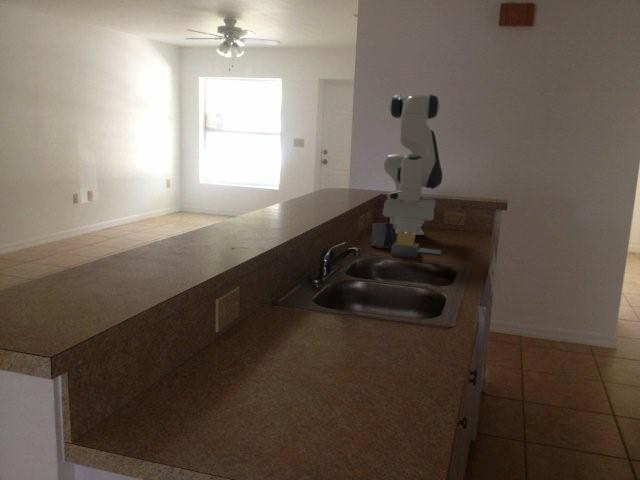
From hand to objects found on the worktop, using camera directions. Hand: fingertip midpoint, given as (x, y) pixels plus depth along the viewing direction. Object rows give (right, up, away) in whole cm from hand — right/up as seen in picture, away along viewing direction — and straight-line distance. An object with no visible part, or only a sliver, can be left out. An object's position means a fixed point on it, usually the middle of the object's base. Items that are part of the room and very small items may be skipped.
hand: (406, 229), depth 230 cm
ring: (0, -6, +1) cm, 6 cm away
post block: (-1, -10, +2) cm, 10 cm away
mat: (+11, -9, +9) cm, 17 cm away
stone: (-8, -7, +15) cm, 19 cm away
